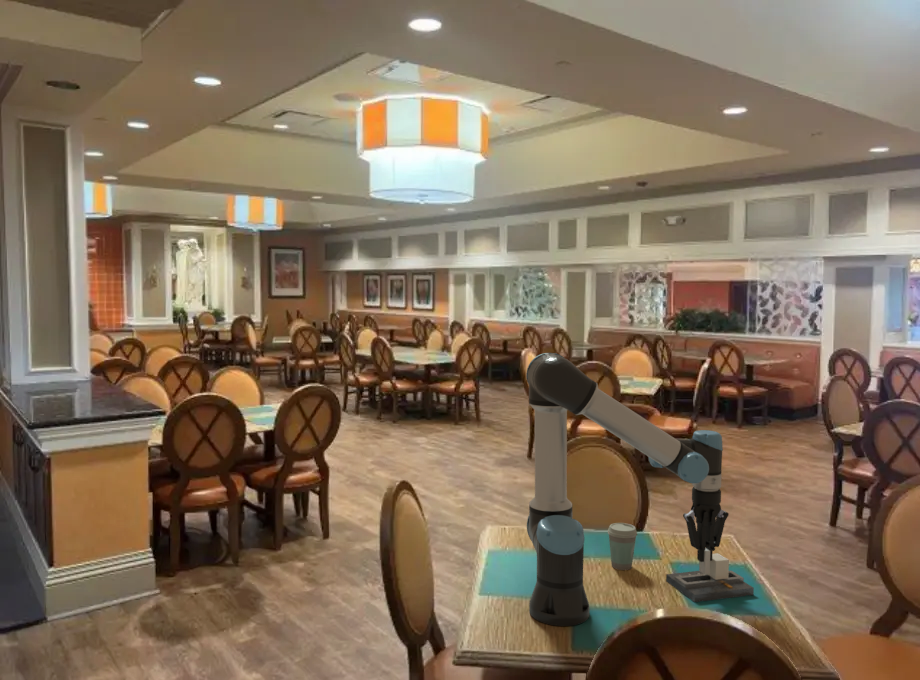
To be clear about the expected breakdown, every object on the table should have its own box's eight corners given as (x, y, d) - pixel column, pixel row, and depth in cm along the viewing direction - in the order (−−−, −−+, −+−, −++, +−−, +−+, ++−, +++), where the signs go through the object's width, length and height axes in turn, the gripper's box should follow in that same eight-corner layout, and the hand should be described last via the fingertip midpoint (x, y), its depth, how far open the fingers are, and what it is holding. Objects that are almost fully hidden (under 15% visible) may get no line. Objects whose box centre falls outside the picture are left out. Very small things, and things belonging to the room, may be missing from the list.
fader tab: (715, 584, 197) (716, 561, 196) (704, 577, 202) (705, 554, 201) (728, 582, 198) (729, 559, 197) (717, 575, 203) (717, 553, 202)
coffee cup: (637, 573, 209) (638, 532, 209) (606, 570, 211) (607, 530, 210) (635, 562, 218) (636, 523, 217) (606, 559, 220) (607, 521, 219)
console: (694, 602, 190) (694, 591, 190) (666, 581, 204) (666, 570, 204) (753, 594, 195) (753, 584, 195) (721, 574, 208) (722, 564, 208)
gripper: (693, 493, 192) (691, 580, 193) (735, 489, 195) (733, 575, 197) (677, 485, 199) (675, 569, 201) (719, 482, 202) (716, 564, 204)
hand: (704, 572), depth 199 cm, fingers closed
